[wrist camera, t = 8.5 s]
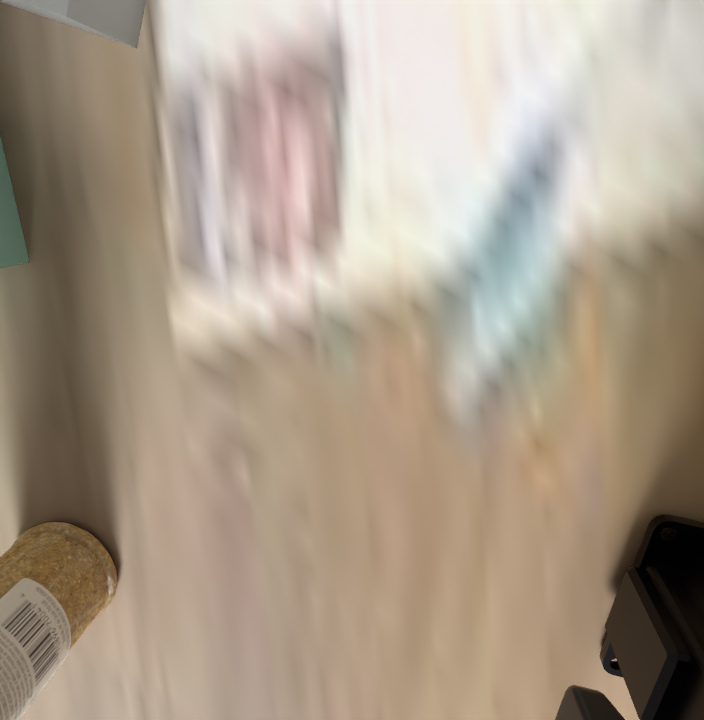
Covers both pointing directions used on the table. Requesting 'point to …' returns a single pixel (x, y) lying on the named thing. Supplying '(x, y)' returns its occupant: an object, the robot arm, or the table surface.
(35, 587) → the sprinkles bottle
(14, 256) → the teal block
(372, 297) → the table surface
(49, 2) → the grey slab
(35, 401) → the table surface
